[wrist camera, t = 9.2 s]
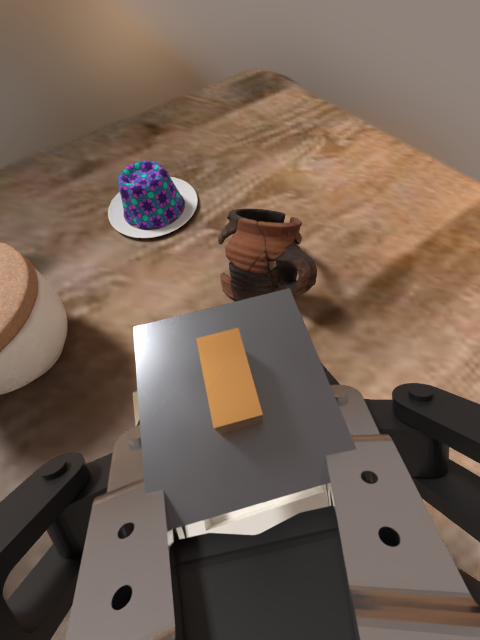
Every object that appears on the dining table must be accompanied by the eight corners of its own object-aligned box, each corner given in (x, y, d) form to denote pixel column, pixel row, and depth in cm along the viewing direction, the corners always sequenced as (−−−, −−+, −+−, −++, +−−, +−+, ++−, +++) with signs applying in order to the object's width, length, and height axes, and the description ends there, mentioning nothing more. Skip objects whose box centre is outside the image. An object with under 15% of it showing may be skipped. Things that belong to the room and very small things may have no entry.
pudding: (160, 170, 42) (148, 133, 37) (217, 204, 38) (211, 167, 33) (93, 214, 38) (70, 178, 33) (147, 257, 34) (130, 223, 29)
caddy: (199, 549, 19) (190, 562, 16) (175, 403, 23) (165, 395, 21) (337, 502, 20) (350, 507, 17) (288, 371, 24) (292, 358, 22)
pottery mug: (198, 284, 32) (200, 208, 27) (255, 268, 38) (264, 203, 33) (280, 334, 25) (299, 243, 21) (333, 305, 31) (358, 229, 26)
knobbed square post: (224, 501, 13) (122, 591, 3) (206, 404, 16) (112, 288, 6) (299, 480, 14) (404, 505, 4) (270, 386, 16) (287, 246, 6)
